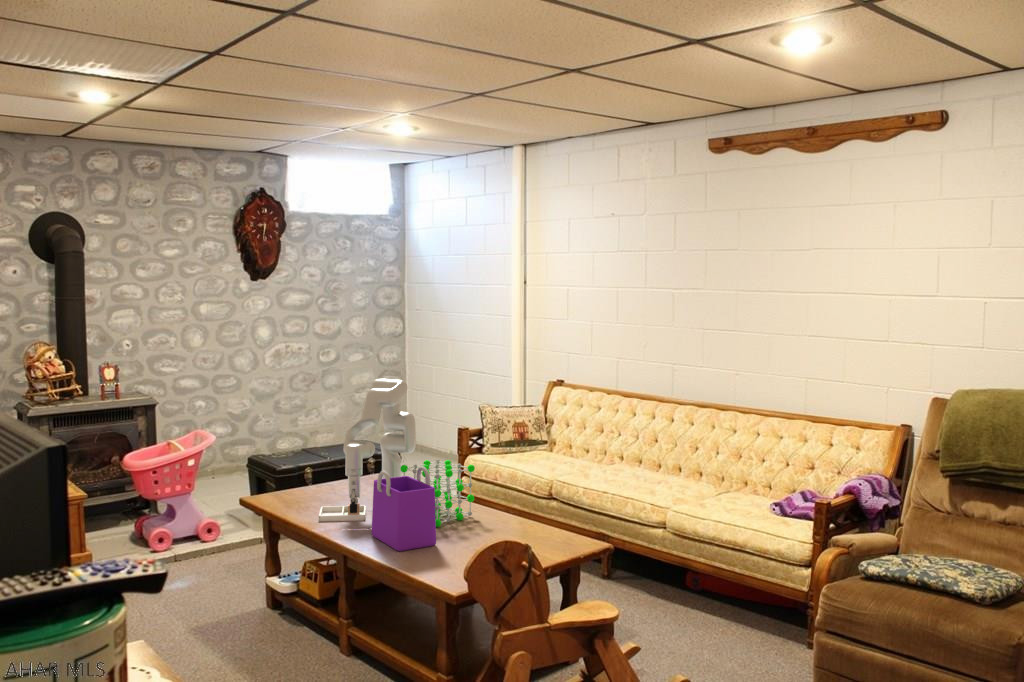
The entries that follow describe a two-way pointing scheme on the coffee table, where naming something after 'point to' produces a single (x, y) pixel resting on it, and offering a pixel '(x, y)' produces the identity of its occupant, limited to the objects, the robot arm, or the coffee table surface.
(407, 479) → the shopping bag
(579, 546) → the coffee table surface
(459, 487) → the molecular structure model
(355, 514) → the plain light orange cube
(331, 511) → the sorting box
